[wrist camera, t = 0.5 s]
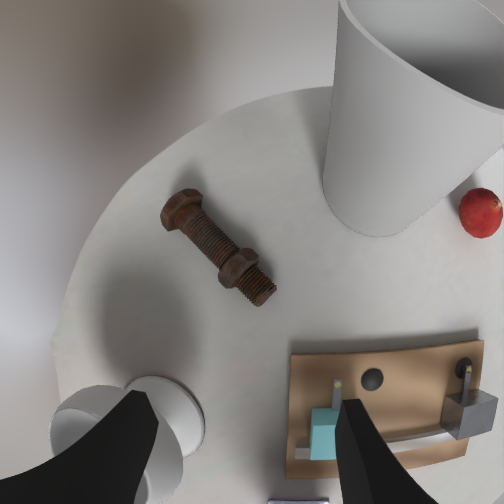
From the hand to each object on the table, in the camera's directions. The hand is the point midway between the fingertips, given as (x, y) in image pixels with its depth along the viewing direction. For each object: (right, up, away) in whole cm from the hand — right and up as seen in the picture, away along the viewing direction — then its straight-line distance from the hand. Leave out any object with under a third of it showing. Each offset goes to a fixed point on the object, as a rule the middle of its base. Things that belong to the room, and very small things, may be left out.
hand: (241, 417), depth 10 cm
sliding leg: (+9, -11, +18) cm, 23 cm away
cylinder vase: (+15, +14, +24) cm, 31 cm away
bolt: (-3, +6, +26) cm, 27 cm away
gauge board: (+16, -13, +19) cm, 28 cm away
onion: (+28, +10, +21) cm, 36 cm away
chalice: (-11, -15, +23) cm, 30 cm away
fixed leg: (+25, -11, +16) cm, 32 cm away
